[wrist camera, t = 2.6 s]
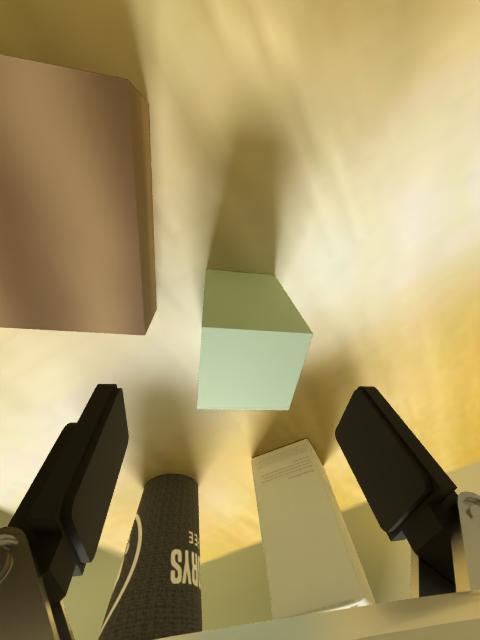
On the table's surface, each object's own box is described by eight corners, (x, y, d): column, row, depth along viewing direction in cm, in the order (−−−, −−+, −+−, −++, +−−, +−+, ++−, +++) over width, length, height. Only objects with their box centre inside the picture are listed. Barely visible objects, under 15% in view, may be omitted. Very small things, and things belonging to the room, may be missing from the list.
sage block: (274, 275, 18) (313, 333, 11) (262, 332, 20) (288, 410, 14) (206, 268, 17) (201, 327, 10) (202, 329, 20) (196, 409, 13)
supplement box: (248, 457, 29) (270, 626, 18) (308, 436, 28) (369, 600, 17) (271, 485, 33) (300, 640, 22) (324, 467, 32) (383, 619, 21)
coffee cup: (180, 514, 34) (160, 721, 21) (115, 496, 30) (42, 734, 17) (225, 482, 31) (234, 699, 18) (160, 456, 27) (111, 708, 14)
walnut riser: (150, 106, 13) (128, 79, 10) (157, 307, 19) (145, 335, 15) (-118, 56, 11) (-262, 2, 8) (-21, 294, 17) (-81, 322, 14)
